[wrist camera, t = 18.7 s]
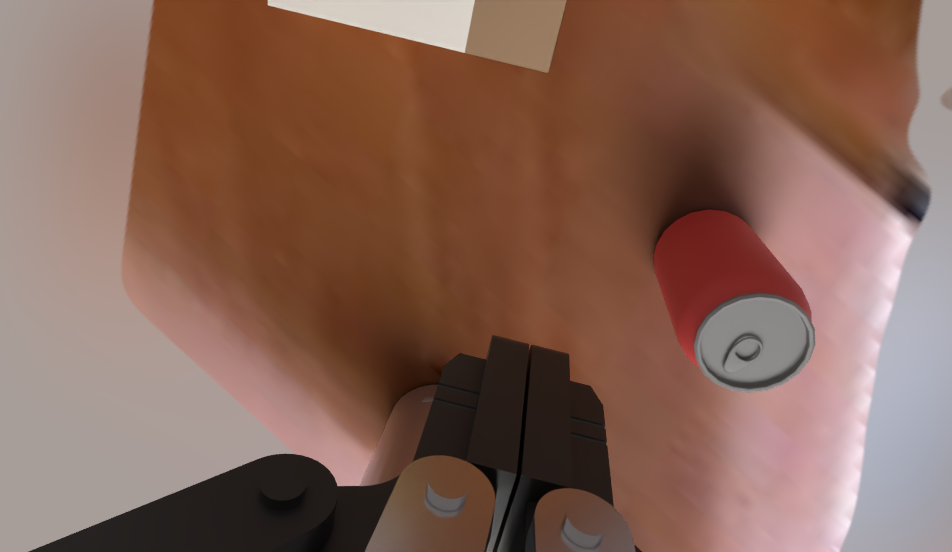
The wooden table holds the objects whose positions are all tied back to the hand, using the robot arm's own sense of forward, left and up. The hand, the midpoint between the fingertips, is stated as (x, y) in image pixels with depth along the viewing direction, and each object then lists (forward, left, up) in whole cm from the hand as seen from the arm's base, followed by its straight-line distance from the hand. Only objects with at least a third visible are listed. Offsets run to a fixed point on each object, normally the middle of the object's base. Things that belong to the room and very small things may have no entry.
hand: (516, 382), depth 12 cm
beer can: (-6, -12, -29) cm, 32 cm away
